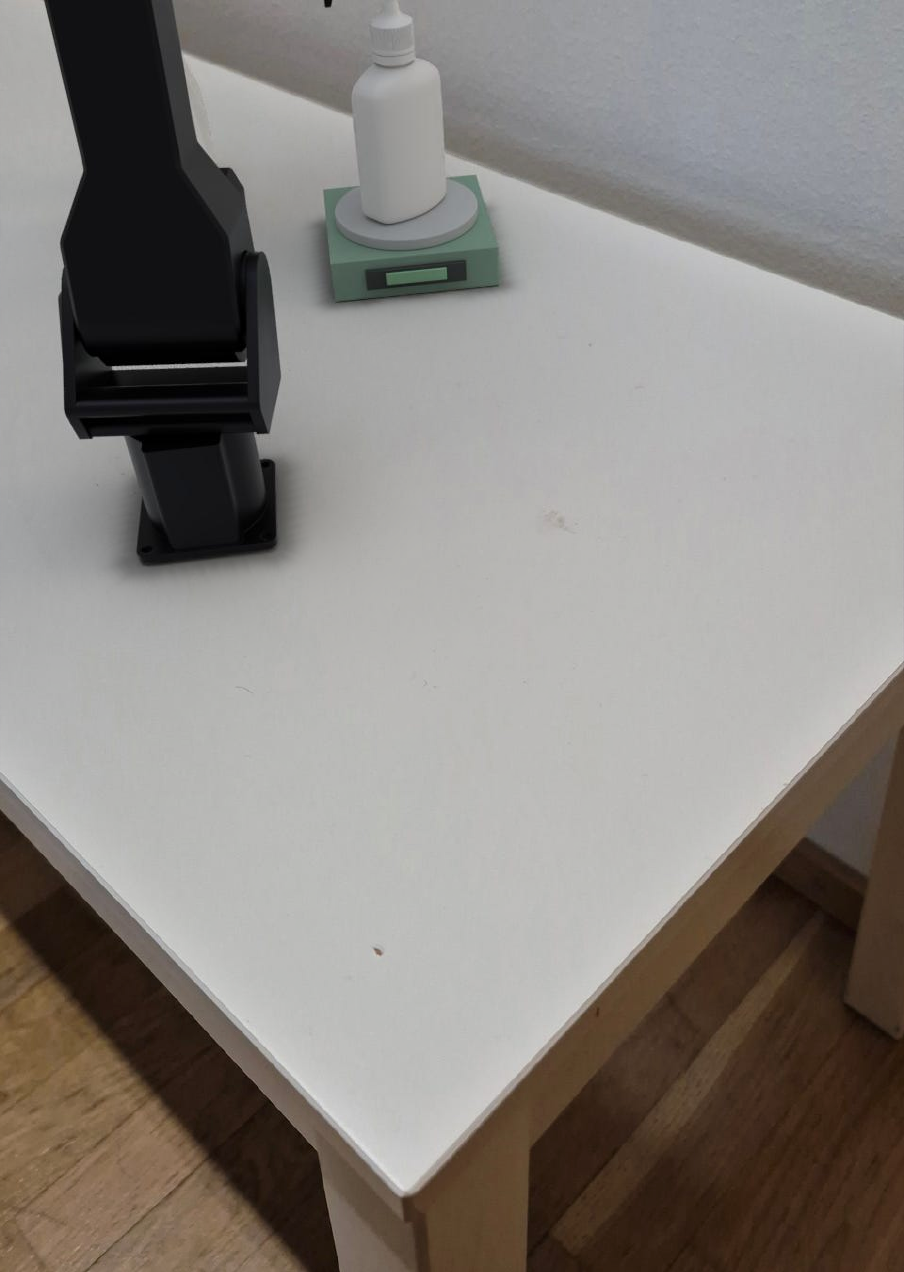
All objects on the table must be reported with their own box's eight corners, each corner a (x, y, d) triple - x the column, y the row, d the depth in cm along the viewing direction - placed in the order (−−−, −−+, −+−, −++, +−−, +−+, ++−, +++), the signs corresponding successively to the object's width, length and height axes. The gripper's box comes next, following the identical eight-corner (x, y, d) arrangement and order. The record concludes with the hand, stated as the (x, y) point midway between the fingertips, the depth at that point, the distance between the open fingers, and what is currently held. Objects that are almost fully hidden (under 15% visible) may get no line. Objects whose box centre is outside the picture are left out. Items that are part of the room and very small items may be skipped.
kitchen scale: (500, 289, 70) (499, 239, 68) (335, 306, 70) (329, 256, 67) (477, 211, 78) (475, 163, 75) (327, 225, 77) (321, 178, 75)
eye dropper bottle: (352, 199, 72) (329, -12, 64) (439, 184, 73) (427, -26, 65) (369, 230, 69) (347, 13, 61) (459, 213, 70) (450, -3, 62)
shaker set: (232, 240, 76) (198, 63, 68) (167, 250, 76) (126, 72, 68) (217, 165, 84) (186, -2, 76) (159, 173, 84) (121, 6, 76)
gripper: (372, -363, 63) (395, -43, 74) (25, -337, 62) (101, -17, 73) (389, -337, 55) (412, 16, 67) (-7, -308, 54) (84, 45, 66)
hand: (249, 12), depth 68 cm, fingers open, 9 cm apart
